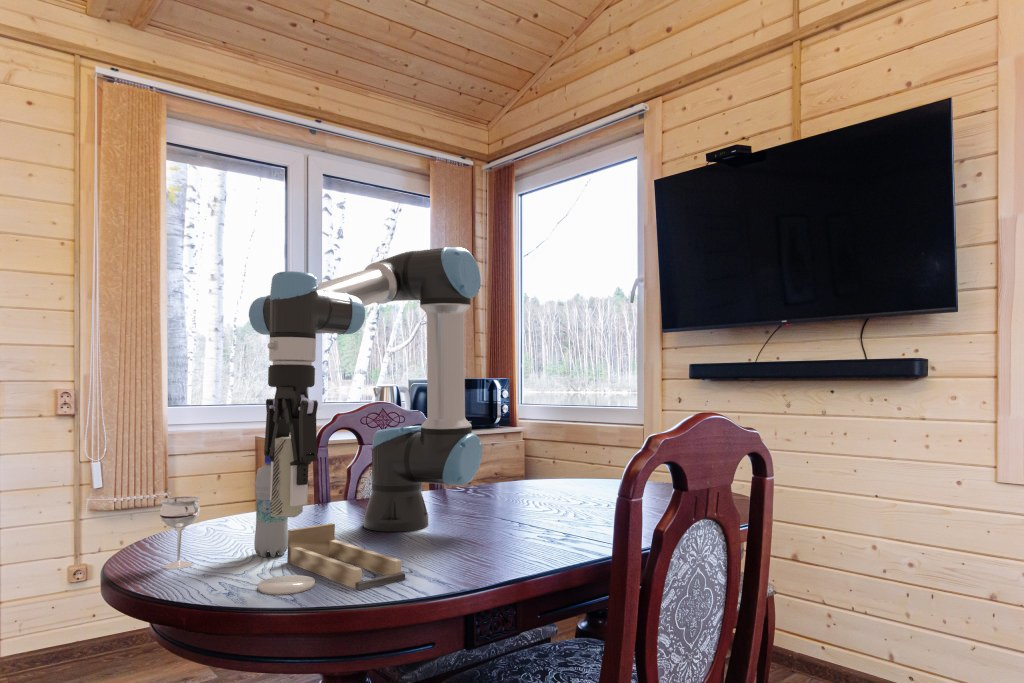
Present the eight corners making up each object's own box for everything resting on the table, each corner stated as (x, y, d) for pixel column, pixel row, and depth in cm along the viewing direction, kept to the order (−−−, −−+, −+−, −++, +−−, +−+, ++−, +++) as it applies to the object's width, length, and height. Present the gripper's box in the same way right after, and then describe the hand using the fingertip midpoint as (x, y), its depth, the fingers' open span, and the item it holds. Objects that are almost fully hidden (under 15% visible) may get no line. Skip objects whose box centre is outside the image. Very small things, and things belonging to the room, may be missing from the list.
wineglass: (201, 567, 127) (203, 500, 128) (159, 572, 124) (162, 503, 125) (195, 559, 133) (197, 495, 134) (155, 563, 130) (158, 498, 130)
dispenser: (287, 562, 131) (288, 529, 131) (331, 554, 138) (331, 523, 138) (359, 590, 114) (359, 552, 114) (405, 579, 120) (405, 543, 121)
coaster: (248, 586, 116) (248, 582, 116) (298, 575, 122) (298, 572, 122) (273, 598, 109) (273, 594, 110) (325, 586, 116) (325, 582, 116)
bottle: (296, 552, 139) (298, 450, 140) (274, 560, 133) (276, 454, 134) (268, 549, 141) (270, 449, 142) (245, 557, 135) (248, 452, 136)
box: (277, 513, 119) (281, 436, 120) (303, 513, 119) (307, 437, 120) (269, 517, 113) (273, 437, 115) (297, 517, 114) (301, 438, 115)
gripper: (245, 364, 122) (241, 497, 121) (299, 362, 109) (295, 512, 107) (285, 365, 127) (282, 493, 126) (342, 363, 114) (338, 507, 112)
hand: (288, 502), depth 117 cm, fingers closed on box, 6 cm apart
